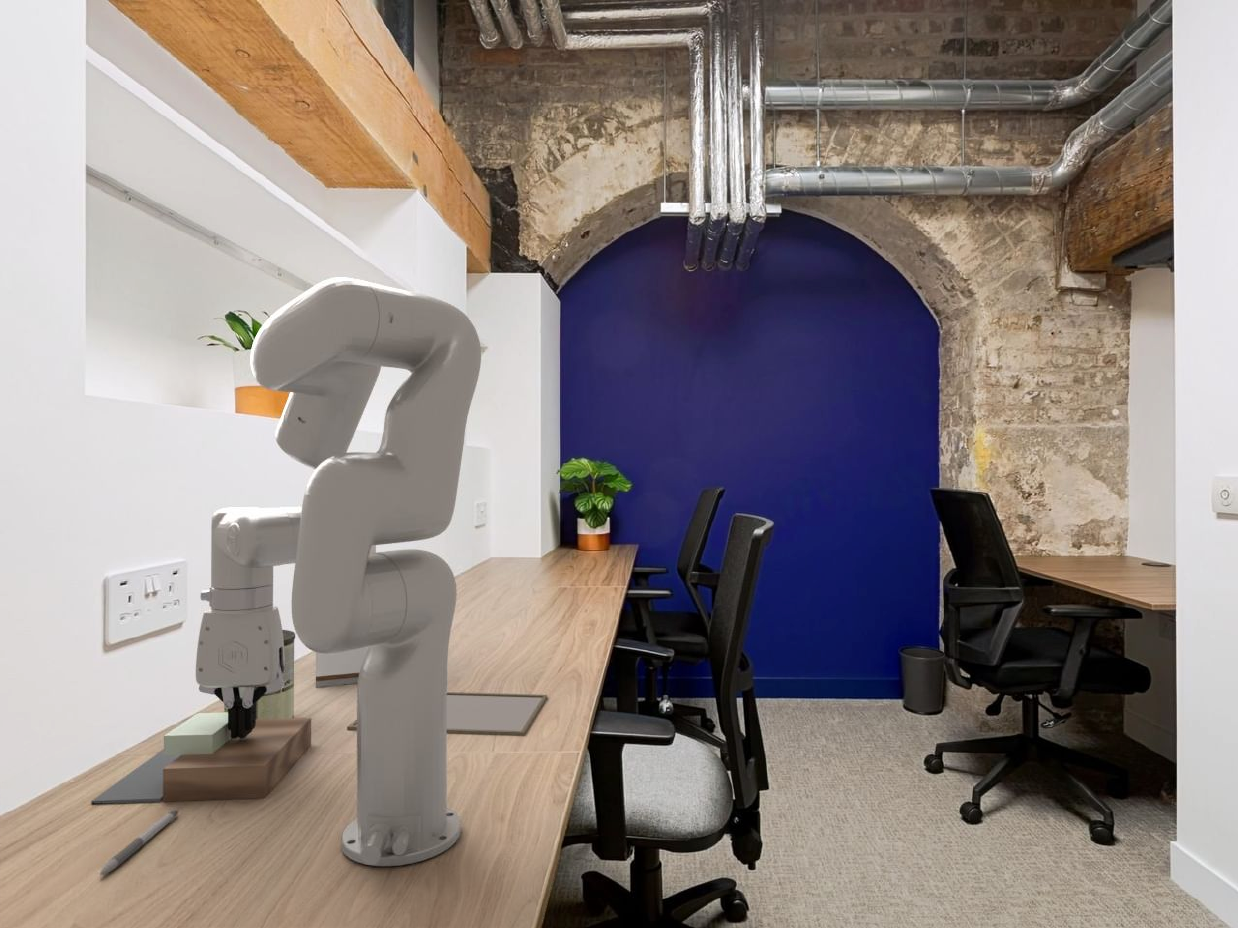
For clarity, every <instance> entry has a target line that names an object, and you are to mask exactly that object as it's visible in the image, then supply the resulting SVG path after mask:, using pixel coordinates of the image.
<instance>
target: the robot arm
mask: <svg viewBox="0 0 1238 928" xmlns="http://www.w3.org/2000/svg"><path fill="white" fill-rule="evenodd" d="M249 360H250V369H251V372H252V375H253V376H254V379H255V380H256V382H258V384H259V385H260V386H261V387H263V388H265V389H266V390H270V391H274V392H280V393H281V392H283V393H284V392H285V393H289V394H288V395H289V396H288V397H287V401H286V403H285V406H284V408H283V411H282V414H281V417H280V419H279V422H278V424H277V426H276V429H275V433H274V436H275V441H276V443H277V445H278V446H279V448H280V449H281V450H282V451H283V452H284V453H285V454H286V455H287V456H289V457H290V458H292V459H293V460H295V461H296V462H298V463H301V464H303V465H304V466H307V467H309V468H311V469H313V470H314V471H313V473H312V475H311V477H310V478H309V480H308V482H307V484H306V487H305V490H304V494H303V498H302V499H303V500H302V505H299V506H298V505H297V506H296V505H295V506H279V507H277V506H276V507H261V506H235V507H224V508H220V509H217V510H216V511H215V512H214V513H213V514H212V517H211V524H210V525H211V530H210V531H211V535H210V536H211V537H210V539H211V542H210V544H211V545H210V546H211V548H210V549H211V552H210V555H211V556H210V558H211V559H210V565H211V566H210V583H211V584H210V587H209V589H207V590H202V591H201V593H200V600H201V601H203V602H205V601H206V602H208V604H209V608H210V609H206V610H204V612H203V615H202V618H201V624H200V628H199V635H198V641H197V650H196V659H195V682H196V683H197V685H199V687H198V690H199V692H201V693H203V694H209V695H214V696H216V697H217V698H218V699H219V700H220V701H221V702H222V703H223V706H225V708H227V709H228V729H229V730H231V738H237V737H239V738H245V737H246V736H247V735H248V734H250V733H251V732H252V730H253V729H254V728H255V725H256V702H257V701H259V699H260V698H261V697H262V696H263V695H264V694H267V693H271V692H275V691H279V690H281V689H282V688H283V687H284V685H285V683H284V679H283V675H282V674H283V672H284V666H285V655H284V640H283V631H282V630H283V626H282V619H281V616H280V611H279V608H278V606H277V605H274V567H276V566H277V567H278V566H279V567H280V566H283V565H291V564H294V571H293V579H292V590H291V617H292V623H293V628H294V631H295V634H296V636H297V637H298V639H299V640H300V642H301V643H302V644H303V645H304V647H306V648H307V649H309V650H311V651H313V652H315V653H316V652H319V653H326V654H330V653H339V652H345V651H349V650H354V649H358V648H363V647H367V646H369V649H368V651H367V653H366V655H365V658H364V660H363V663H362V666H361V669H360V673H359V677H358V684H356V685H357V686H356V687H357V688H356V689H357V690H356V719H357V731H356V818H355V819H354V820H353V821H351V822H350V823H349V824H348V825H347V826H346V827H345V828H344V830H343V832H342V833H341V850H342V853H344V855H345V856H346V857H347V858H348V859H350V860H352V861H354V862H356V863H359V864H362V865H367V866H374V867H399V866H404V865H410V864H415V863H418V862H423V861H425V860H428V859H431V858H433V857H435V856H438V855H440V854H442V853H444V852H445V851H447V850H448V849H450V848H451V847H452V846H453V845H454V844H455V843H456V842H457V841H458V839H459V838H460V835H461V831H462V822H461V821H462V820H461V818H460V816H459V815H458V814H457V813H456V812H455V811H454V810H452V809H450V807H447V786H448V785H447V784H448V783H447V779H448V778H447V773H448V772H447V767H448V766H447V759H448V757H447V753H448V752H447V751H448V750H447V747H448V746H447V741H448V740H447V738H448V736H447V735H448V734H447V692H448V661H449V657H448V656H449V646H450V645H449V644H450V637H451V631H452V626H453V620H454V616H455V611H456V604H457V595H458V594H457V592H458V591H457V583H456V578H455V575H454V572H453V570H452V568H451V567H450V565H449V564H448V563H447V562H446V561H445V559H443V558H442V557H440V556H439V555H438V554H435V553H433V552H431V551H428V550H422V549H415V548H414V549H410V548H409V549H397V550H388V551H379V552H377V551H376V553H371V554H369V553H370V549H371V546H373V545H376V546H383V545H388V544H389V545H391V544H401V543H408V542H409V543H410V542H415V541H416V542H418V541H424V540H428V539H432V538H435V537H437V536H440V535H441V534H442V533H444V532H445V531H447V529H448V527H449V526H450V524H451V521H452V519H453V515H454V511H455V506H456V500H457V494H458V489H459V488H458V487H459V481H460V472H461V465H462V458H463V451H464V445H465V433H466V429H467V428H466V427H467V426H466V425H467V422H468V416H469V411H470V408H471V404H472V402H473V401H472V400H473V398H474V396H475V395H474V394H475V392H476V387H477V384H478V381H479V376H480V371H481V364H482V347H481V342H480V337H479V335H478V332H477V330H476V327H475V325H474V324H473V322H472V321H471V320H470V318H469V317H468V316H467V315H466V314H465V313H464V312H463V311H462V310H460V309H459V308H457V307H456V306H454V305H452V304H450V303H448V302H446V301H443V300H441V299H438V298H435V297H432V296H429V295H427V294H421V293H418V292H415V291H414V292H413V291H410V290H406V289H401V288H396V287H391V286H386V285H382V284H379V283H375V282H370V281H367V280H366V281H365V280H363V279H357V278H356V279H355V278H350V277H343V276H341V277H331V278H328V279H325V280H323V281H321V282H319V283H317V284H315V285H314V286H312V287H311V288H309V289H308V290H306V291H304V292H303V293H302V294H299V296H297V297H295V298H294V299H292V300H291V301H290V302H288V303H286V304H285V305H284V306H282V307H280V308H279V309H278V310H277V311H275V312H274V313H273V314H272V315H271V316H269V318H268V319H267V320H266V321H265V322H264V323H263V324H262V325H261V327H260V328H259V330H258V332H257V334H256V336H255V337H254V339H253V342H252V346H251V350H250V359H249ZM383 367H385V368H395V369H403V370H407V371H409V372H410V373H411V374H410V375H409V376H408V377H407V378H406V379H405V380H404V381H403V383H401V385H400V386H399V387H398V389H397V390H396V391H395V394H394V395H393V396H392V397H391V400H390V402H389V403H388V406H387V407H386V408H387V409H386V410H385V414H384V420H383V430H382V431H383V433H382V437H381V442H380V447H379V449H378V450H377V451H376V452H362V451H361V452H360V451H357V452H355V451H354V452H351V451H350V452H348V449H349V447H350V445H351V443H352V440H353V438H354V435H355V432H356V431H357V428H358V426H359V425H360V424H359V423H360V420H361V419H362V417H363V414H364V411H365V409H366V407H367V405H368V402H369V400H370V398H371V396H372V395H371V394H372V393H373V390H374V387H375V385H376V383H377V381H378V378H379V375H380V373H381V370H382V368H383ZM240 687H245V691H244V697H243V702H242V695H241V689H240Z"/></svg>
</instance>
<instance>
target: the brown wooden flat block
mask: <svg viewBox="0 0 1238 928" xmlns="http://www.w3.org/2000/svg"><path fill="white" fill-rule="evenodd" d="M311 746H312V717H294V718H282V719H256V725H255V728H254V729H253V730H252V732H251V733H250V734H248V735H247V736H246V737H245V738H239V737H237V738H231V739H230V740H229V741H228V742H227V743H225V744H224V745H223V746H222V747H220V748H219V749H218V750H217V751H215V752H214V753H213V754H194V755H180V756H179V757H178V758H176V759H175V760H174V761H173V762H171V763H170V764H169V765H167V766H166V767H165V768H163V800H162V803H163V802H189V801H191V802H192V801H214V800H217V801H219V800H220V801H221V800H238V799H239V800H241V799H242V800H244V799H265V798H266V797H267V796H268V795H269V794H270V793H271V791H273V789H274V788H275V787H276V785H278V784H279V783H280V781H281V780H282V779H283V777H284V776H286V774H287V773H288V772H289V771H290V770H291V769H292V768H293V766H294V765H295V764H296V763H297V762H298V761H299V760H300V758H302V756H303V755H304V754H305V753H306V752H307V751H308V749H309V748H310V747H311Z"/></svg>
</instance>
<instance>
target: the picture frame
mask: <svg viewBox="0 0 1238 928" xmlns="http://www.w3.org/2000/svg"><path fill="white" fill-rule="evenodd" d="M547 699H548V694H538V693H537V694H533V693H531V694H530V693H528V694H527V693H501V692H500V693H495V692H463V691H462V692H460V691H459V692H458V691H447V735H448V734H449V735H450V734H452V735H479V736H480V735H483V736H509V737H511V736H512V737H513V736H516V737H520V736H521V737H524V736H525V735H526V734H527V732H528V730H529V729H530V727H531V725H532V724H533V722H534V721H535V719H536V717H537V716H538V714H539V712H540V711H541V710H542V707H543V706H544V704H545V703H546V701H547ZM346 731H355V732H357V718H356V719H355V720H354V721H352V722H351V723H350V724H348V725H347V726H346Z"/></svg>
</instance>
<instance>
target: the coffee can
mask: <svg viewBox="0 0 1238 928" xmlns="http://www.w3.org/2000/svg"><path fill="white" fill-rule="evenodd" d="M282 631H283V640H284V655H285V666H284V672H283V674H282V675H283V679H284V683H285V685H284V687H283V688H282V689H281V690H279V691H275V692H271V693H267V694H264V695H263V696H262V697H261V698H260V699H259V701H257V702H256V719H282V718H295V714H294V713H295V710H294V709H295V639H296V632H294V631H292V630H289V629H282ZM240 689H241V695H242V702H243V697H244V691H245V687H240ZM223 706H224V705H223ZM223 709H224V711H223V713H225V712H228V709H227V708H225V706H224V707H223Z"/></svg>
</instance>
